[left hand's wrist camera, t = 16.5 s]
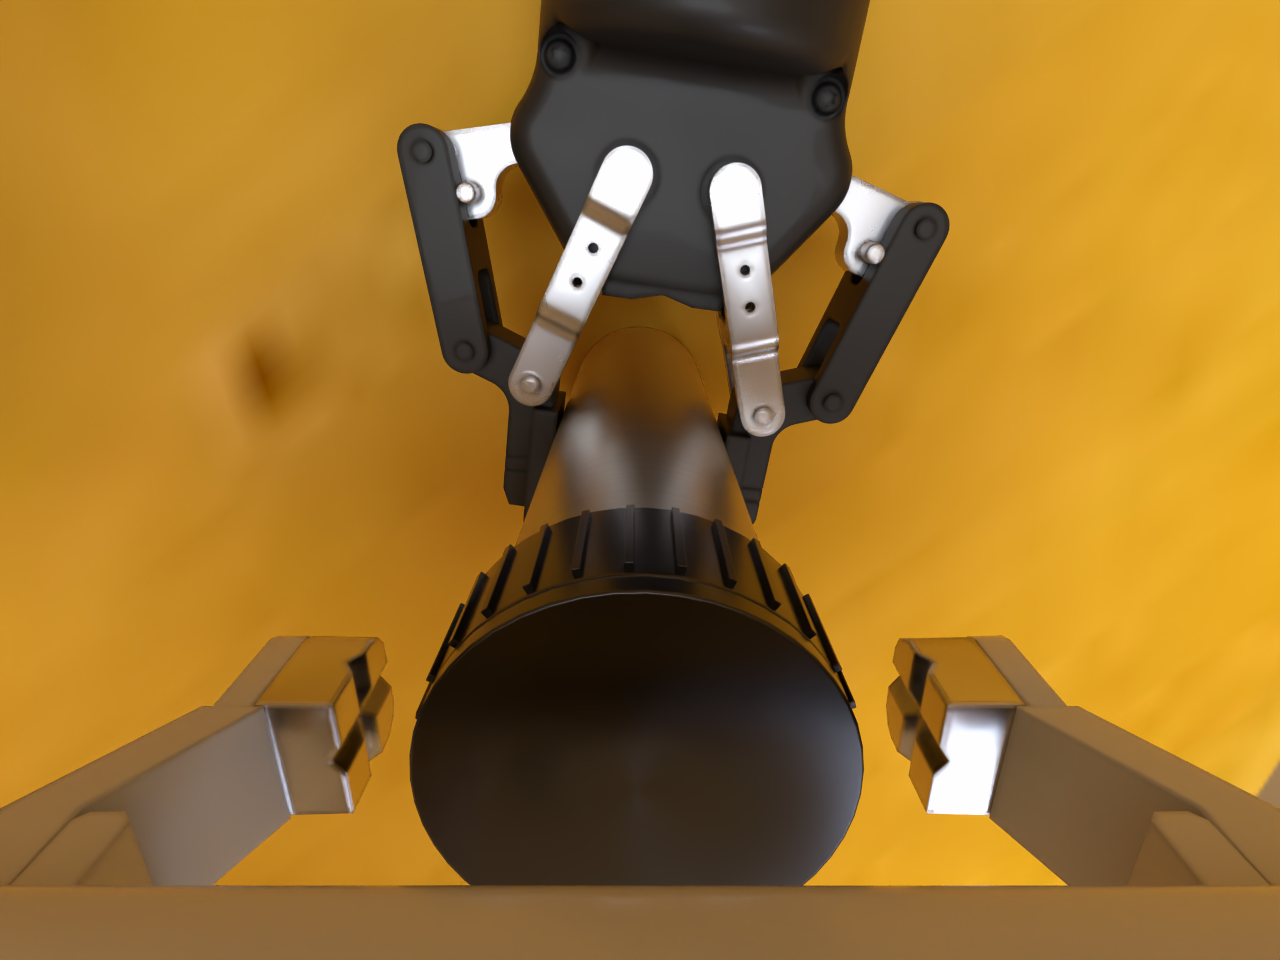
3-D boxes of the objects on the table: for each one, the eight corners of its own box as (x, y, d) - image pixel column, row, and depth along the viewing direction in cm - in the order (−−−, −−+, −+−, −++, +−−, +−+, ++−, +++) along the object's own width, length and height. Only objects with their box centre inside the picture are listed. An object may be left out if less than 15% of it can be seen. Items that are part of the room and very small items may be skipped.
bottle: (655, 468, 28) (682, 920, 10) (553, 405, 27) (392, 785, 9) (725, 371, 26) (895, 704, 9) (620, 301, 25) (576, 518, 8)
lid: (903, 622, 10) (971, 730, 8) (688, 858, 12) (698, 998, 10) (570, 425, 9) (549, 491, 7) (387, 717, 11) (327, 842, 9)
